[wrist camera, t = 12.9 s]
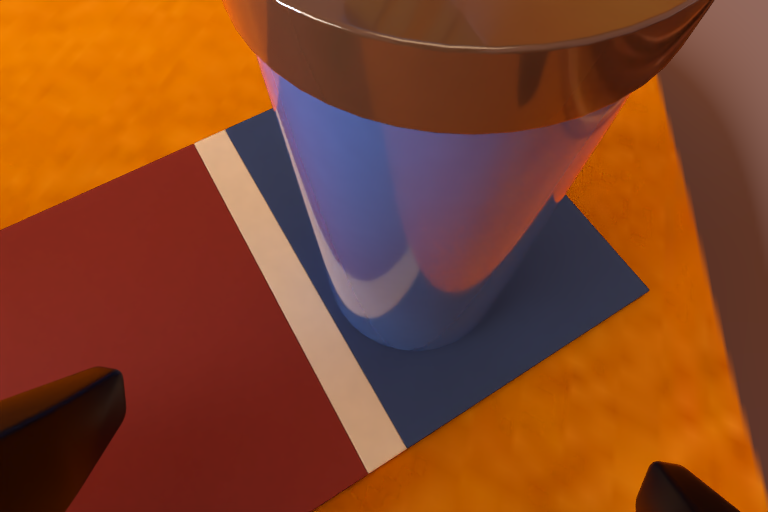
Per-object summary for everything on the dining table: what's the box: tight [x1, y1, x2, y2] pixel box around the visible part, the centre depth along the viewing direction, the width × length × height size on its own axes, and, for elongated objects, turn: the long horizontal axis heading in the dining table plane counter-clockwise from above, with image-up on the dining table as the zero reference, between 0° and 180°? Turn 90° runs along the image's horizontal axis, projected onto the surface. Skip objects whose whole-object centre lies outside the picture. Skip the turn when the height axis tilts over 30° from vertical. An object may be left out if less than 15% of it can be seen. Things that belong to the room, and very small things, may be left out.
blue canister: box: [222, 0, 714, 351], centre depth 11 cm, size 7×7×13 cm
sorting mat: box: [0, 108, 649, 512], centre depth 16 cm, size 14×38×1 cm, turn 121°
